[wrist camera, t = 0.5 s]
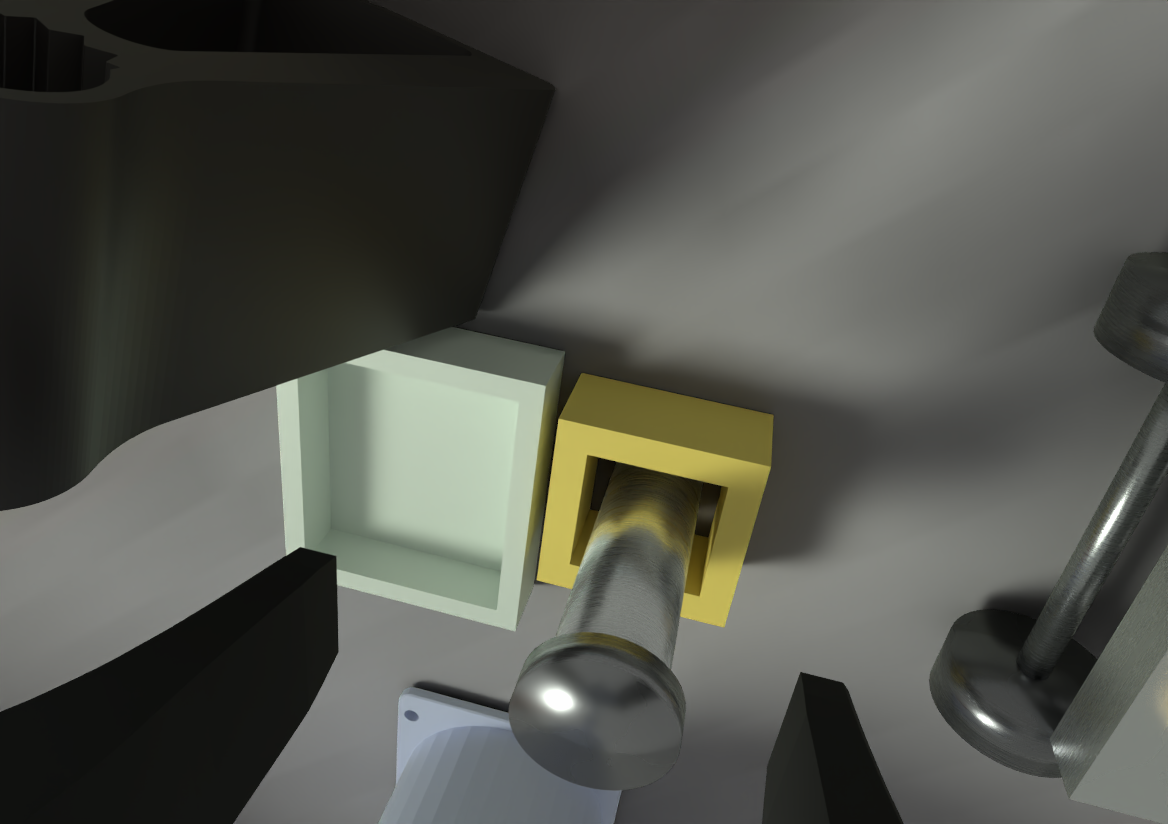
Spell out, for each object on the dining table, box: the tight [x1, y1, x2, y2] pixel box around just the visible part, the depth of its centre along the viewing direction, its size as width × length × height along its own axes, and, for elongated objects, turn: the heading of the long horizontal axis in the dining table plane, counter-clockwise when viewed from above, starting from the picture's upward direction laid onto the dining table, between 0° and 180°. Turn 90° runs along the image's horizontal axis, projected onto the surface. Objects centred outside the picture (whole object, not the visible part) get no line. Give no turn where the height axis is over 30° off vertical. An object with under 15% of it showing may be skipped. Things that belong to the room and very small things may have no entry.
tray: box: [276, 327, 565, 631], centre depth 23 cm, size 8×7×2 cm
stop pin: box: [509, 461, 703, 791], centre depth 19 cm, size 3×3×9 cm
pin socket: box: [537, 373, 773, 627], centre depth 22 cm, size 5×5×2 cm
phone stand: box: [0, 0, 555, 511], centre depth 15 cm, size 9×6×12 cm, turn 68°
